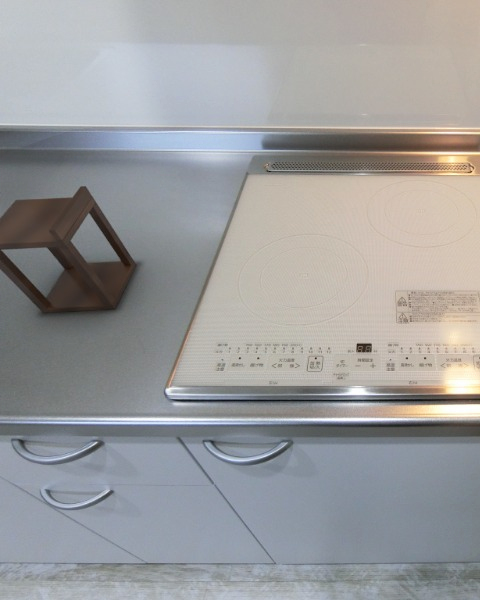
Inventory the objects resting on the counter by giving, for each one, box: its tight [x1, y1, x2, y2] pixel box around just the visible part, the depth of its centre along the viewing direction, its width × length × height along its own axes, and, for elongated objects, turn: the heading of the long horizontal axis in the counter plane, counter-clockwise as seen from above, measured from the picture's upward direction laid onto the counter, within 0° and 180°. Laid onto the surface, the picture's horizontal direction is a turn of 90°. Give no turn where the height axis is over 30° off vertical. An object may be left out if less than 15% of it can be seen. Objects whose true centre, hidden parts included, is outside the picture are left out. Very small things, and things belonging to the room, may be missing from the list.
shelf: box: [0, 185, 137, 314], centre depth 65 cm, size 11×10×16 cm
